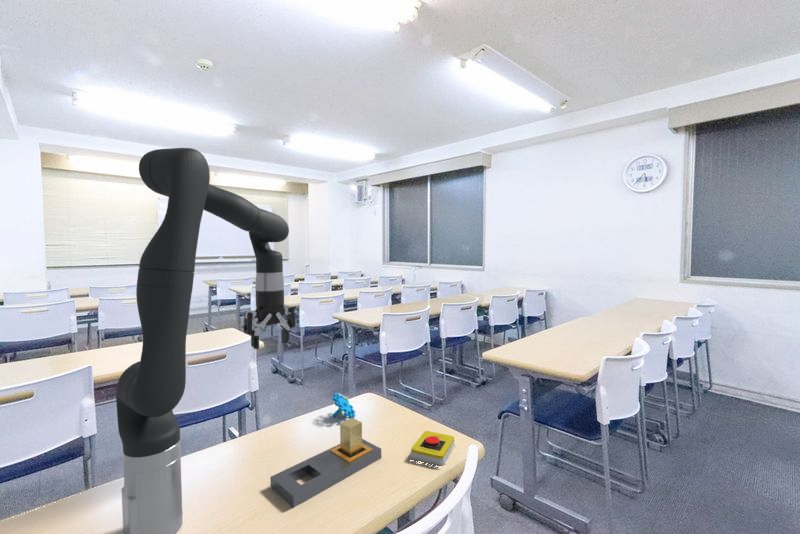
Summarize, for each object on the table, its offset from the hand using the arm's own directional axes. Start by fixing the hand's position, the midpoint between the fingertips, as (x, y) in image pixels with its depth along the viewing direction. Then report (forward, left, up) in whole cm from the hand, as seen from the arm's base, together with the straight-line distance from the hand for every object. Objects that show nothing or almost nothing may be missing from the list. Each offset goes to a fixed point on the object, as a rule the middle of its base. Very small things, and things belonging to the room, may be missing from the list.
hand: (270, 345), depth 104 cm
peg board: (+3, -23, -28) cm, 36 cm away
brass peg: (+10, -23, -28) cm, 38 cm away
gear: (+25, -1, -28) cm, 38 cm away
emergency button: (+28, -36, -29) cm, 54 cm away
